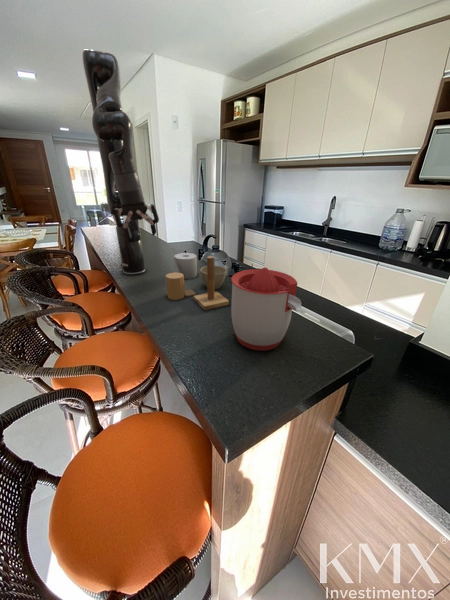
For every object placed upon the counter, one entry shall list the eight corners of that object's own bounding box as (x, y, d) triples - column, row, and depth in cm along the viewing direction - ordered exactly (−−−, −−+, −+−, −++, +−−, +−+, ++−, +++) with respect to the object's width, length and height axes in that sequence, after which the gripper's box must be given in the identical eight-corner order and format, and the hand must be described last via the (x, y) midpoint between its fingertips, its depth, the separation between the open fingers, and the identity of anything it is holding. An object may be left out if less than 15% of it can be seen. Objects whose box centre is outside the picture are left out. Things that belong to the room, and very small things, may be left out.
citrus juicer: (281, 368, 56) (294, 287, 47) (217, 343, 64) (218, 270, 55) (302, 335, 68) (315, 266, 59) (246, 317, 76) (250, 254, 67)
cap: (170, 301, 86) (169, 279, 82) (165, 294, 90) (163, 273, 87) (197, 295, 90) (196, 274, 86) (190, 289, 95) (190, 269, 91)
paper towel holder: (193, 299, 87) (192, 255, 80) (216, 294, 91) (216, 252, 84) (204, 310, 80) (203, 262, 73) (228, 304, 84) (230, 259, 77)
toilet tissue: (170, 281, 101) (169, 261, 98) (178, 270, 113) (177, 252, 110) (192, 282, 101) (191, 262, 97) (198, 271, 113) (197, 253, 109)
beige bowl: (196, 289, 95) (195, 271, 92) (207, 280, 103) (207, 264, 100) (220, 293, 92) (220, 275, 89) (229, 284, 100) (230, 267, 97)
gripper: (152, 184, 85) (162, 230, 94) (109, 188, 83) (123, 235, 92) (150, 187, 78) (161, 237, 87) (103, 192, 77) (120, 242, 86)
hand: (142, 236), depth 90 cm, fingers open, 8 cm apart
